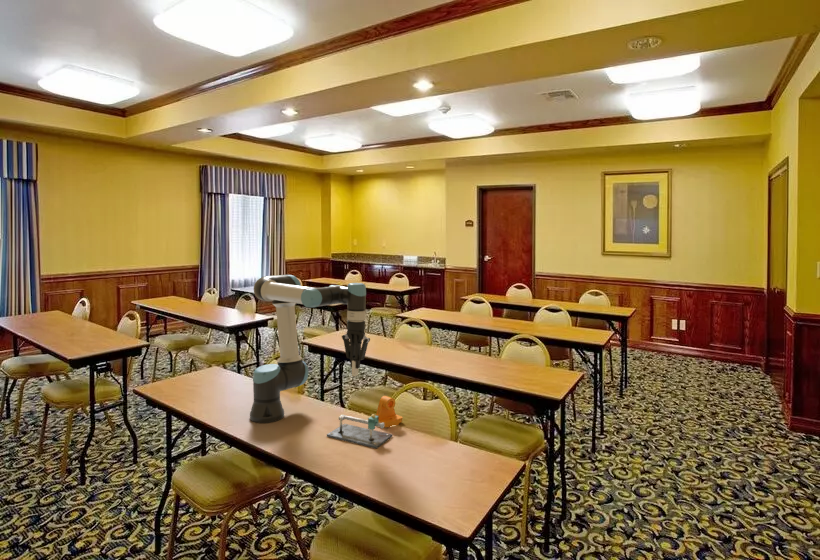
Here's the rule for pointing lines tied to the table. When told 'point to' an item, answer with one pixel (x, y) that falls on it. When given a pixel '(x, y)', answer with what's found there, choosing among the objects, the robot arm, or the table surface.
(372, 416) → the sliding leg
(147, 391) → the table surface
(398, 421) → the bracket
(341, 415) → the dividers bar
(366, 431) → the bolt plate
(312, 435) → the table surface
